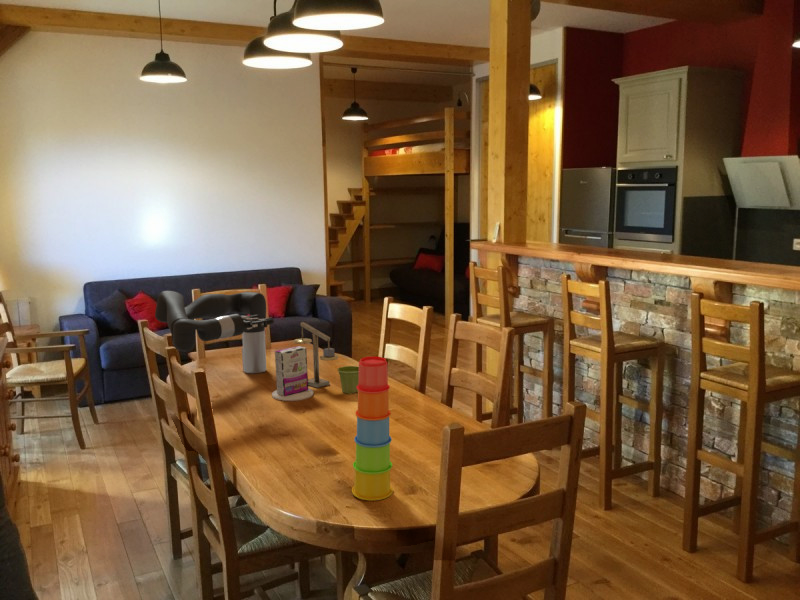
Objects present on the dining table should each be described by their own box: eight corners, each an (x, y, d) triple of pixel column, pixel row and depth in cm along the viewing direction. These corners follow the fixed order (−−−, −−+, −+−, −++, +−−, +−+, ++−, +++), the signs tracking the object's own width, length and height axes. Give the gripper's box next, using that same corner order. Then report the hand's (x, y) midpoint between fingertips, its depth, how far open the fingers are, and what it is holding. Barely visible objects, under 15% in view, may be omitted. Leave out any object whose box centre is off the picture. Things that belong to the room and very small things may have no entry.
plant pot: (364, 388, 274) (364, 365, 272) (361, 395, 265) (360, 372, 263) (340, 387, 275) (339, 365, 273) (335, 395, 265) (335, 372, 264)
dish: (264, 395, 266) (263, 393, 266) (295, 387, 277) (295, 384, 276) (289, 403, 256) (289, 400, 256) (321, 394, 267) (321, 391, 266)
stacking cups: (394, 484, 185) (392, 353, 180) (391, 501, 175) (388, 363, 170) (354, 483, 186) (351, 353, 181) (349, 501, 176) (345, 363, 170)
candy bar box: (300, 388, 272) (299, 345, 269) (308, 390, 268) (307, 347, 265) (275, 394, 264) (274, 350, 261) (283, 396, 260) (282, 352, 258)
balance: (291, 381, 285) (289, 322, 281) (305, 377, 290) (303, 320, 286) (329, 391, 270) (327, 329, 266) (343, 387, 275) (341, 326, 271)
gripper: (238, 318, 241) (277, 310, 253) (214, 313, 251) (253, 306, 263) (240, 340, 243) (278, 331, 254) (216, 334, 252) (254, 326, 264)
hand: (265, 319), depth 258 cm, fingers open, 8 cm apart
